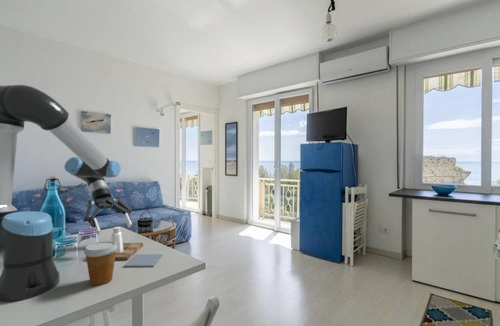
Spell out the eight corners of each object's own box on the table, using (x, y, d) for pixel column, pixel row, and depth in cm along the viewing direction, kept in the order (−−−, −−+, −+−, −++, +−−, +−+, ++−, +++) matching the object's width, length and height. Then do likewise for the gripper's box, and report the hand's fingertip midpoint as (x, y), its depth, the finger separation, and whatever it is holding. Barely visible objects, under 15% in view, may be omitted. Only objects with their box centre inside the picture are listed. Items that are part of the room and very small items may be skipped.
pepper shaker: (114, 256, 105) (113, 230, 105) (107, 253, 108) (106, 227, 108) (126, 252, 109) (126, 227, 109) (119, 249, 112) (119, 225, 112)
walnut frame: (127, 260, 101) (127, 256, 101) (86, 260, 100) (86, 256, 100) (142, 246, 117) (142, 242, 117) (107, 246, 116) (107, 243, 116)
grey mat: (153, 266, 95) (153, 265, 95) (123, 267, 94) (123, 265, 94) (162, 255, 106) (162, 254, 106) (135, 255, 105) (135, 254, 105)
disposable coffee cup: (103, 272, 90) (103, 239, 90) (124, 277, 87) (123, 242, 87) (77, 285, 81) (76, 248, 81) (99, 290, 78) (98, 252, 78)
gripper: (123, 194, 132) (138, 227, 123) (67, 200, 112) (80, 241, 104) (128, 184, 129) (144, 218, 120) (71, 189, 109) (86, 230, 100)
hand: (115, 229), depth 112 cm, fingers open, 13 cm apart
